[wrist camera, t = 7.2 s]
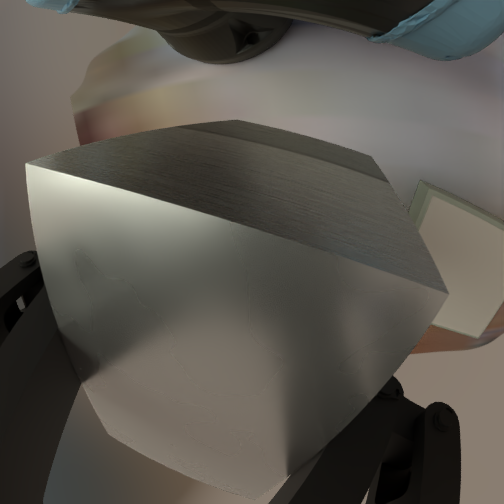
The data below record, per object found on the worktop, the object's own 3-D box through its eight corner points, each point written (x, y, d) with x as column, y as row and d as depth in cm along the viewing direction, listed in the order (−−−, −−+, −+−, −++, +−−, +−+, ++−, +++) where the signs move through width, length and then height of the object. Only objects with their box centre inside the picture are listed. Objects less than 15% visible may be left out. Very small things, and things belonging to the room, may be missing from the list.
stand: (420, 179, 25) (430, 189, 22) (520, 231, 23) (536, 245, 19) (374, 289, 32) (375, 309, 29) (470, 321, 30) (478, 340, 26)
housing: (236, 119, 12) (25, 163, 3) (371, 156, 11) (448, 294, 2) (205, 320, 18) (117, 449, 9) (296, 352, 17) (245, 505, 8)
